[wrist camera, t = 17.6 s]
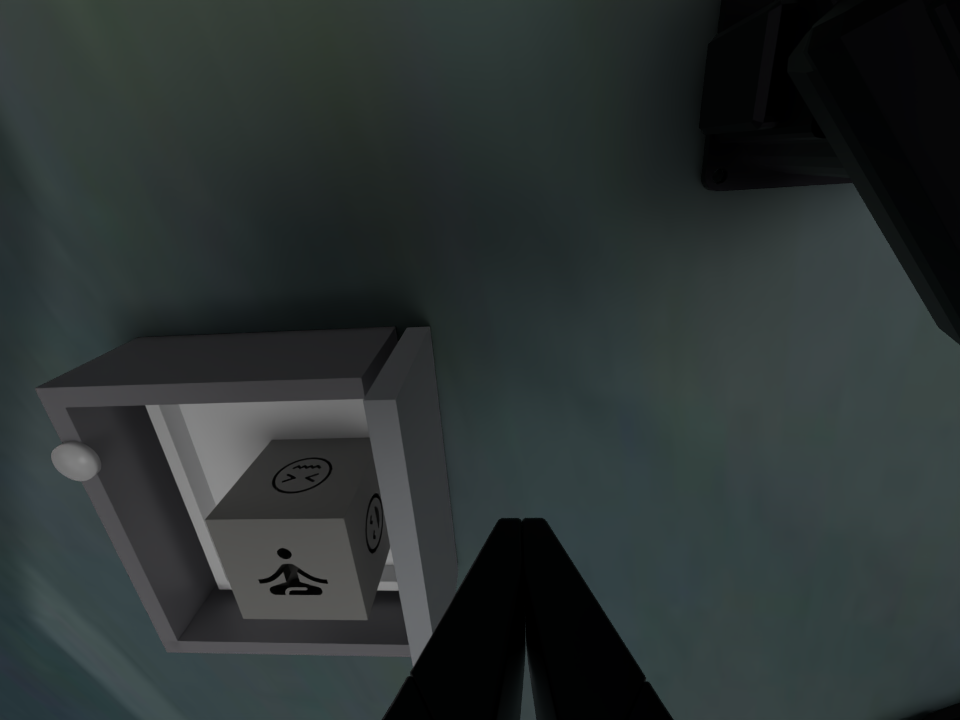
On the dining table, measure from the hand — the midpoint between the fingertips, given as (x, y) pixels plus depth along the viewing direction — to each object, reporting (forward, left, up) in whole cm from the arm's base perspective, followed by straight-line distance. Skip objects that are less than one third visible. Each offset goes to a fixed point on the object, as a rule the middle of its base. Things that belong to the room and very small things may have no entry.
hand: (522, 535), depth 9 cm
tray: (+10, +7, -12) cm, 17 cm away
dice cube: (+9, +7, -11) cm, 15 cm away
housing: (+11, +7, -12) cm, 18 cm away
